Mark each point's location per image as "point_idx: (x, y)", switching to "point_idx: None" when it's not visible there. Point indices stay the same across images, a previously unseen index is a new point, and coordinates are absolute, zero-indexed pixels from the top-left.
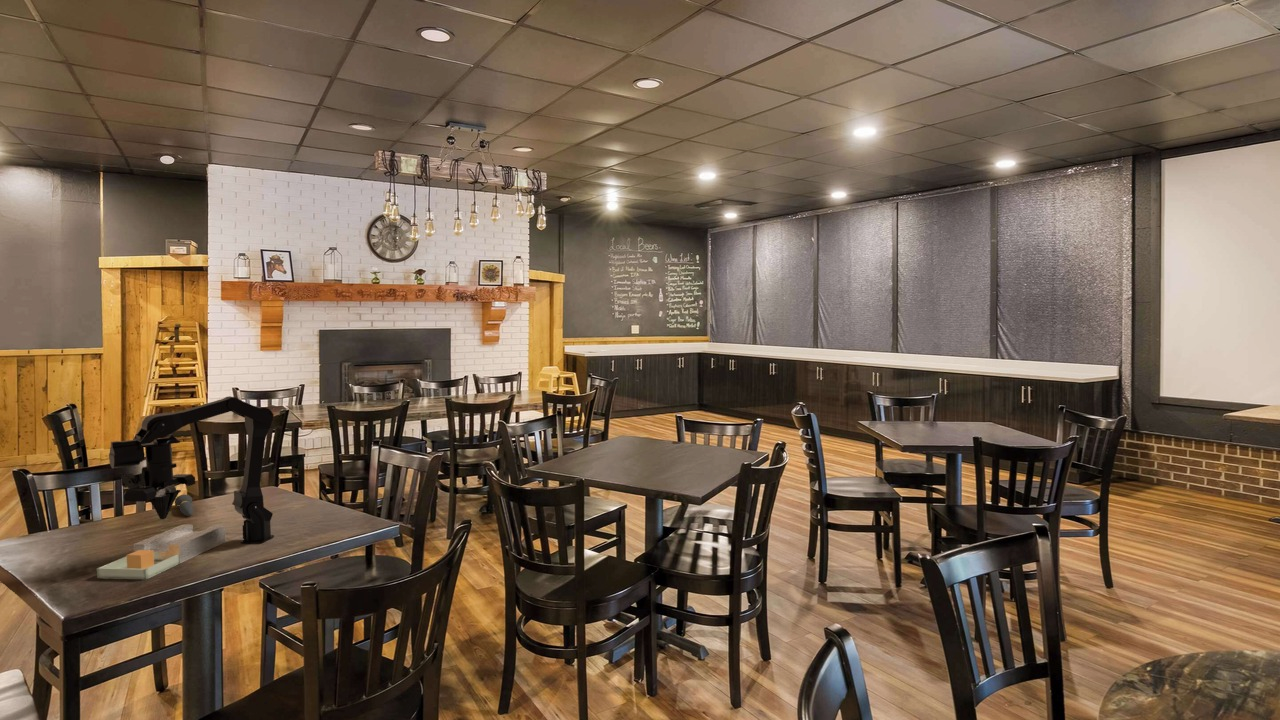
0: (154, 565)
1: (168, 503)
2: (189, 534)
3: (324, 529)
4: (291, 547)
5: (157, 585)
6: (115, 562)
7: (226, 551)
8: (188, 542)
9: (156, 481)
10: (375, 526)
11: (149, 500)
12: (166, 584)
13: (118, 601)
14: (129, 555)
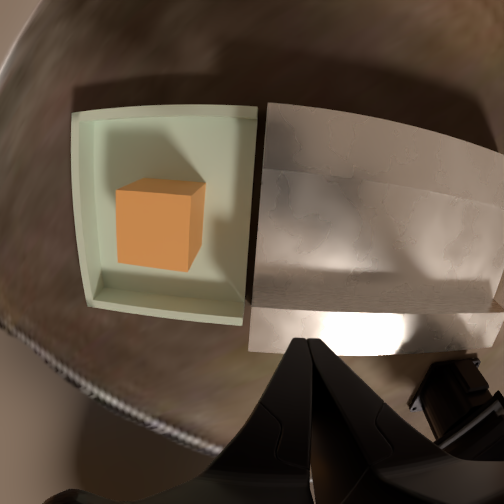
0: (123, 310)
1: (320, 490)
2: (490, 219)
3: None
4: None
5: (80, 341)
6: (146, 115)
7: (364, 370)
8: None
9: None
10: None
11: (184, 490)
12: (91, 357)
13: (5, 310)
14: (116, 205)
